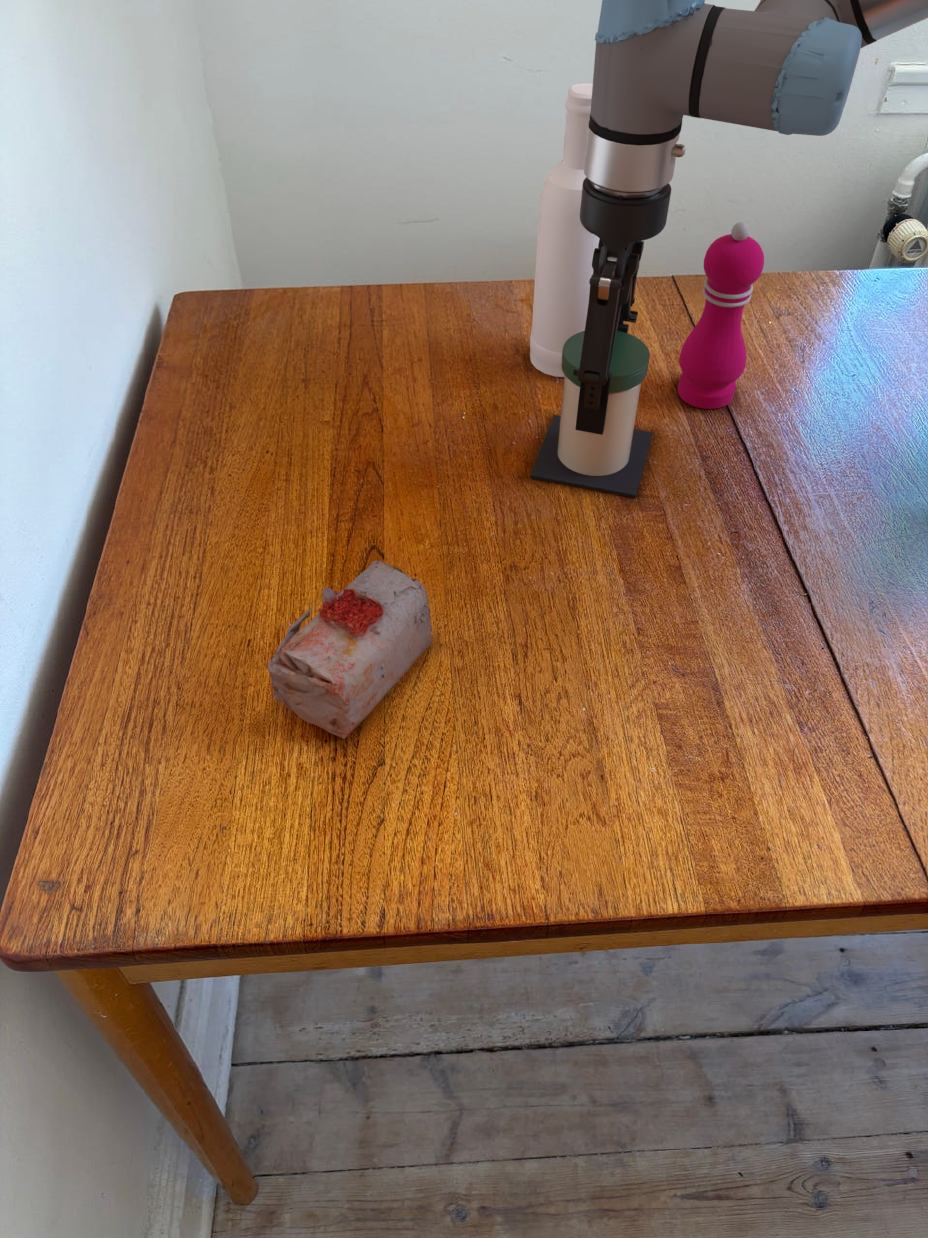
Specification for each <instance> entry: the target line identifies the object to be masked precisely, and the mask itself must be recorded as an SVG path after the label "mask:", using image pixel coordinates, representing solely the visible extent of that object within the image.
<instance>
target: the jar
mask: <svg viewBox="0 0 928 1238" xmlns="http://www.w3.org/2000/svg"><path fill="white" fill-rule="evenodd" d="M641 388H642V382H641V383H640V384H639V385H637V386H635V387H633V388H631V389H628V390H624V391H619V392H609V397H608V404H607V412H606V419H605V426H604V432H603V435H600V434H595V433H589V432H584V431H579V430H575V429H576V420H577V411H578V402H579V393H580V386H578V385H576V384H574V383H573V382H571V381H570V380H569V379H568V378H567V377H566V376H565V375H564V377H563V385H562V396H561V406H560V415H559V416H560V427H559V438H558V448H557V453H558V457H559V459H560V461H561V462H562V463H563V464H564V465H565V466H566V467H567V468H569V469H571V470H572V471H575V472H577V473H580V474H584V475H590V476H604V475H610V474H613V473H616V472H618V471H620V470H621V469H622V468H624V467H625V466H626V464H627V463H628V461H629V457H630V451H631V445H632V438H633V432H634V429H635V424H636V418H637V413H638V407H639V399H640V394H641Z"/></svg>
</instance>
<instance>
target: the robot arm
mask: <svg viewBox="0 0 928 1238" xmlns="http://www.w3.org/2000/svg"><path fill="white" fill-rule="evenodd" d="M705 2H706V0H601V7H600V14H599V19H598V26H597V32H596V33H595V36H594V41H595V52H594V64H593V77H592V84H593V87H592V100H591V111H590V120H589V122H588V129H587V139H586V149H585V158H584V168H583V170H584V174H585V175H586V178H585V179H584V181H583V186H582V197H581V207H580V221H581V223H582V225H583V227H584V228H585V229H586V230H587V231H589V232H590V233H592V234H594V235H596V236H597V237H599V238H600V239H599V244H598V248H595V250H594V254H593V260H592V268H593V274H592V276H591V278H590V281H589V284H590V293H589V304H588V311H587V318H586V325H585V332H584V340H583V347H582V354H581V361H580V368H575V369H574V372H573V375H576V376H577V377H578V381H581V384H580V393H579V402H578V411H577V420H576V429H575V430H579V431H584V432H589V433H595V434H600V435H603V432H604V426H605V419H606V412H607V404H608V397H609V390H610V383H611V375H612V373H611V372H610V366H611V361H612V356H613V350H614V345H615V339H616V334H617V330H618V331H622V332H626V333H628V334H629V328H630V327H629V326H630V324H627V323H625V322H628V323H633V324H636V323H637V320H638V315H639V311H636V310H632V309H631V308H632V307H633V306H634V304H635V302H636V298H635V295H636V287H637V286H636V285H637V278H638V272H639V269H640V263H641V262H640V261H641V259H642V256H643V251H644V248H645V246H644V245H645V241H646V240H650V239H652V238H655V237H656V236H658V235H659V234H660V233H662V231H663V230H664V229H665V227H666V225H667V220H668V213H669V207H670V201H671V196H672V195H671V194H672V186H671V184H670V183H671V181H672V180H673V177H674V174H675V173H674V172H675V166H676V158H682V157H684V156H685V155H686V147H685V144H683V143H678V142H679V139H680V133H681V132H682V127H683V118H684V116H687V117H690V118H696V119H704V120H709V121H716V122H720V123H726V124H733V125H739V126H744V127H751V128H756V129H762V130H766V131H767V130H768V131H773V132H778V133H779V134H781V135H786V136H790V135H802V136H816V137H824V136H827V135H829V134H831V133H832V132H834V131H835V130H836V129H837V127H838V126H839V124H840V121H841V118H842V115H843V113H844V109H845V106H846V104H847V103H846V102H847V101H848V96H849V93H850V90H851V86H852V83H853V78H854V75H855V71H856V68H857V65H858V64H857V63H858V60H859V57H860V53H861V49H863V48H864V47H867V46H869V45H871V44H873V43H876V42H878V41H879V40H881V39H884V38H886V37H888V36H890V35H893V34H895V33H897V32H899V31H901V30H904V29H906V28H908V27H911V26H913V25H915V24H917V23H920V22H922V21H925V20H926V19H928V0H760V1H759V3H757V6H756V8H755V10H748V9H747V10H746V9H736V8H726V7H724V6H716V5H715V4H710V3H705Z"/></svg>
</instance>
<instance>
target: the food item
mask: <svg viewBox="0 0 928 1238" xmlns="http://www.w3.org/2000/svg"><path fill="white" fill-rule="evenodd" d="M321 595H322V597H323V598H322V599H321V601H320V602H321V603H322V608H318V609H317V611H318V613H316V614H315V615H314V616H313V617H312V619H311V620H310V621H309V622H308V623H307V624H305V625H304V626H303V627H302V628H301V626H302V623H303V622H304V621H305V620H306V619H308V618H309V617H310V615H311V611H312V609H313V608H314V606H315V604H314V605H312V606H310V607H309V608H308V610H306V611H305V612H304V613H303V614H302V615H301V616H300V617H299V618H298V619H297V620H296V621H294V623H293V624H292V625H291V626H290V627H289V628H288V630H287V632H286V634H285V636H284V638H283V640H282V641H281V643H280V644H279V645H278V647H277V648H276V651H275V653H274V656H273V658H269V662H268V665H267V670H268V673H269V676H270V681H271V686H273V692H272V693H273V698H274V699H275V701H278V702H280V703H282V704H283V705H284V706H285V707H286V708H287V709H288V710H291V711H292V712H293V713H295V715H297V717H298V718H300V719H301V720H303V721H304V722H306V723H308V724H311V725H315V726H316V727H318V728H320V729H322V730H324V731H325V732H327V733H329V734H332V735H334V736H336V737H339V738H341V739H343V740H344V739H346V738H348V736H349V735H350V734H351V733H352V732H353V731H354V730H355V729H356V728H357V727H358V726H359V725H360V724H361V723H362V722H363V721H364V720H365V719H366V718H367V716H369V715H370V713H371V712H372V711H373V710H374V709H375V708H376V706H377V705H378V704H379V703H380V702H381V700H382V699H383V698H384V697H385V696H386V695H387V694H388V693H389V692H390V690H391V689H392V688H393V687H395V686H396V684H397V683H398V682H400V680H401V679H402V678H403V677H404V675H406V673H407V672H408V671H409V670H410V669H411V668H412V666H413V665H414V664H415V663H416V661H418V660H419V658H420V657H421V655H423V654H424V653H425V651H426V650H427V649H428V648H429V647H430V646H431V645H432V643H433V642H434V638H432V632H433V628H432V621H431V619H432V618H431V609H430V605H429V595H428V593H427V589H426V587H425V585H424V584H423V583H422V582H421V581H420V580H419V578H413V577H410V576H409V575H408V574H407V573H405V572H404V571H403V570H401V569H399V568H398V567H396V566H393V565H391V564H388V563H387V562H385V561H381V560H373V561H372V562H371V563H370V565H369V566H368V567H367V568H366V569H364V570H363V571H362V572H361V573H359V575H357V576H356V577H355V578H354V579H353V580H352V581H350V583H348V584H347V585H346V586H345V587H344V588H343V589H342V590H341V591H340V592H339V591H338V590H333V589H332V588H331V587H328V586H325V587H324V589H323V590H322V593H321ZM300 628H301V629H300Z"/></svg>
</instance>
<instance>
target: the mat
mask: <svg viewBox="0 0 928 1238" xmlns="http://www.w3.org/2000/svg"><path fill="white" fill-rule="evenodd" d="M560 416H561V415H559V414H553V415H552V418H551V420H550V423H549V426H548V428H547V430H546V433H545V437H544V438H543V441H542V444H541V446H540V449H539V451H538V454H537V456H536V459H535V462H534V464H533V466H532V469H531V471H530V474H529V478H530V479H534V480H539V481H545V482H548V483H549V482H550V483H555V484H560V485H564V486H571V487H576V488H581V489H586V490H592V491H597V492H601V493H608V494H611V495H617V496H623V497H628V498H633V499H636V497H637V494H638V491H639V487H640V483H641V480H642V476H643V472H644V469H645V464H646V462H647V461H646V460H647V457H648V453H649V450H650V446H651V442H652V439H653V435H654V432H653V431H648V430H642V429H636V428H634V432H633V438H632V445H631V451H630V457H629V461H628V463H627V464H626V466H625V467H624V468H622V469H621V470H620V471H618V472H616V473H613V474H610V475H604V476H590V475H584V474H580V473H577V472H575V471H572V470H571V469H569V468H567V467H566V466H565V465H564V464H563V463H562V462H561V461H560V459H559V457H558V453H557V448H558V438H559V427H560Z"/></svg>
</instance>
